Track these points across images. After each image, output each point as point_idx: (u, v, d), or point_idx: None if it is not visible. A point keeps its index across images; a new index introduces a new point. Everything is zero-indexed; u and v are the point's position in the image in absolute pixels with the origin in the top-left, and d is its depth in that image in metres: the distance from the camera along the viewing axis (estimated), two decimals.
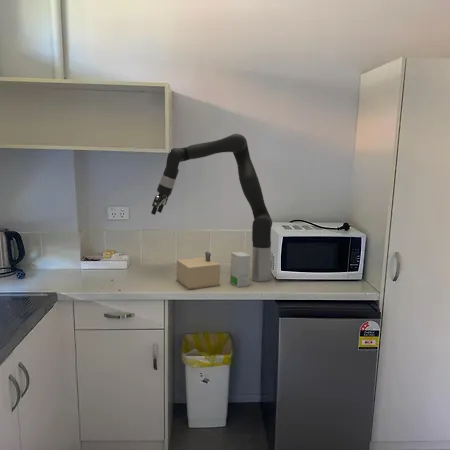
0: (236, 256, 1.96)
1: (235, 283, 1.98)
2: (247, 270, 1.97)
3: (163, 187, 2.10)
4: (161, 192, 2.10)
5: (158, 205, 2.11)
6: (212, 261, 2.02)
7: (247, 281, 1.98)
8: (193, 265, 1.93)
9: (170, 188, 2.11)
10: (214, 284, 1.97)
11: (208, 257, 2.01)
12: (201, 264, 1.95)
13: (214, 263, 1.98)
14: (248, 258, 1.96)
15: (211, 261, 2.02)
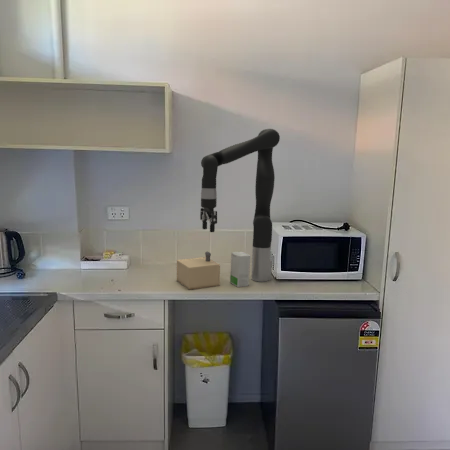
0: (236, 256, 1.96)
1: (235, 283, 1.98)
2: (247, 270, 1.97)
3: (212, 200, 1.94)
4: (212, 205, 1.95)
5: (214, 220, 1.96)
6: (212, 261, 2.02)
7: (247, 281, 1.98)
8: (193, 265, 1.93)
9: (216, 198, 1.97)
10: (214, 284, 1.97)
11: (208, 257, 2.01)
12: (201, 264, 1.95)
13: (214, 263, 1.98)
14: (248, 258, 1.96)
15: (211, 261, 2.02)
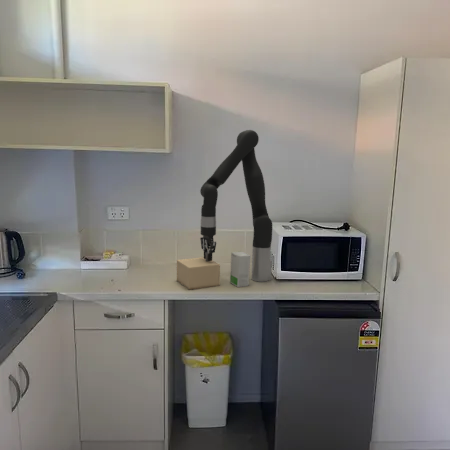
0: (236, 256, 1.96)
1: (235, 283, 1.98)
2: (247, 270, 1.97)
3: (212, 228, 1.96)
4: (212, 234, 1.97)
5: None
6: (212, 261, 2.02)
7: (247, 281, 1.98)
8: (193, 265, 1.93)
9: (215, 226, 1.99)
10: (214, 284, 1.97)
11: None
12: (201, 264, 1.95)
13: (214, 263, 1.98)
14: (248, 258, 1.96)
15: (211, 261, 2.02)
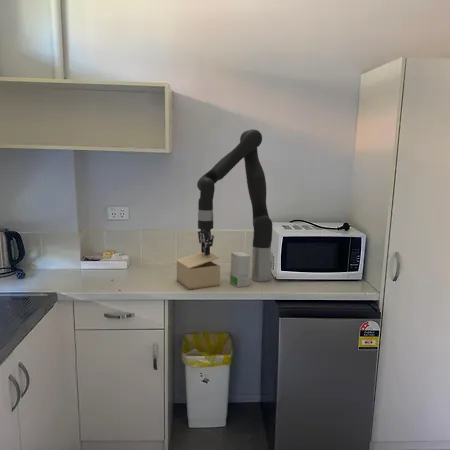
0: (236, 256, 1.96)
1: (235, 283, 1.98)
2: (247, 270, 1.97)
3: (209, 222, 1.95)
4: (209, 227, 1.96)
5: (210, 243, 1.98)
6: (211, 254, 2.01)
7: (247, 281, 1.98)
8: (193, 263, 1.93)
9: None
10: (214, 284, 1.97)
11: None
12: (200, 260, 1.95)
13: (213, 256, 1.97)
14: (248, 258, 1.96)
15: (210, 254, 2.01)
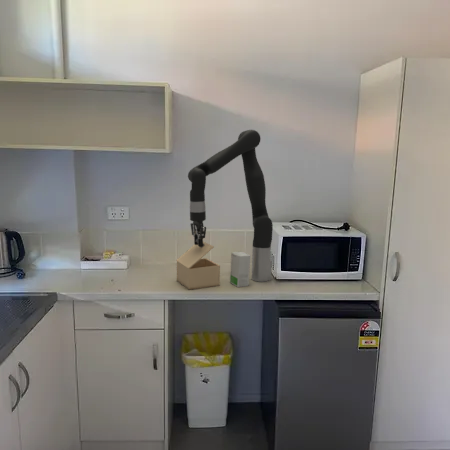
0: (236, 256, 1.96)
1: (235, 283, 1.98)
2: (247, 270, 1.97)
3: (201, 213, 1.93)
4: (201, 219, 1.93)
5: None
6: (206, 244, 1.99)
7: (247, 281, 1.98)
8: (191, 261, 1.93)
9: (205, 211, 1.96)
10: (214, 284, 1.97)
11: None
12: (198, 255, 1.94)
13: (208, 247, 1.95)
14: (248, 258, 1.96)
15: (205, 245, 1.99)
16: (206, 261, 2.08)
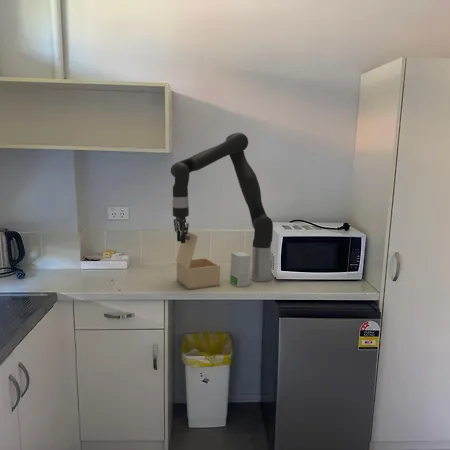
0: (236, 256, 1.96)
1: (235, 283, 1.98)
2: (247, 270, 1.97)
3: (184, 209, 1.88)
4: (184, 215, 1.89)
5: (185, 231, 1.91)
6: (191, 235, 1.94)
7: (247, 281, 1.98)
8: (187, 260, 1.92)
9: (188, 207, 1.91)
10: (214, 284, 1.97)
11: (185, 237, 1.94)
12: (189, 251, 1.92)
13: (194, 238, 1.91)
14: (248, 258, 1.96)
15: (190, 236, 1.94)
16: (206, 261, 2.08)
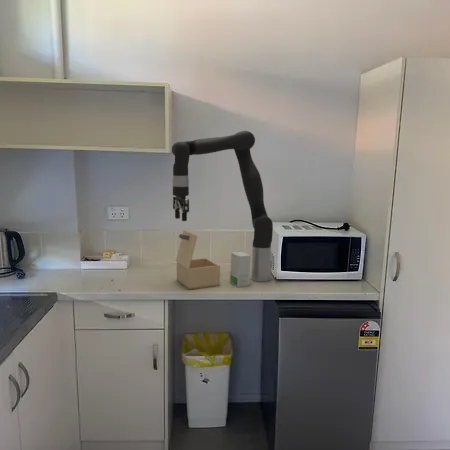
0: (236, 256, 1.96)
1: (235, 283, 1.98)
2: (247, 270, 1.97)
3: (184, 188, 1.88)
4: (184, 193, 1.88)
5: None
6: (190, 235, 1.94)
7: (247, 281, 1.98)
8: (187, 260, 1.91)
9: (188, 186, 1.91)
10: (214, 284, 1.97)
11: (185, 237, 1.94)
12: (189, 251, 1.91)
13: (193, 238, 1.91)
14: (248, 258, 1.96)
15: (190, 236, 1.94)
16: (206, 261, 2.08)
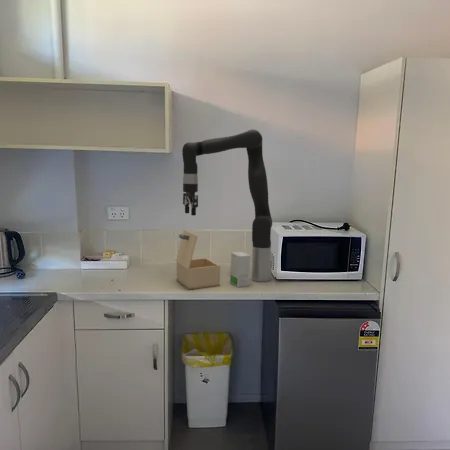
0: (236, 256, 1.96)
1: (235, 283, 1.98)
2: (247, 270, 1.97)
3: (193, 185, 2.05)
4: (193, 190, 2.05)
5: None
6: (190, 235, 1.94)
7: (247, 281, 1.98)
8: (187, 260, 1.91)
9: (197, 183, 2.08)
10: (214, 284, 1.97)
11: (185, 237, 1.94)
12: (189, 251, 1.91)
13: (193, 238, 1.91)
14: (248, 258, 1.96)
15: (190, 236, 1.94)
16: (206, 261, 2.08)
